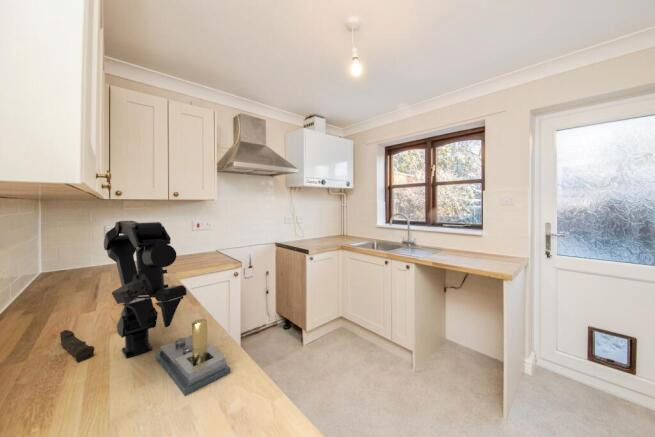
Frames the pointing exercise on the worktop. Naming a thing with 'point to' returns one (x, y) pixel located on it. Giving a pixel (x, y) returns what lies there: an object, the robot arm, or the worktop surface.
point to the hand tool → (76, 346)
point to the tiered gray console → (191, 365)
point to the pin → (199, 341)
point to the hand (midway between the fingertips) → (155, 326)
